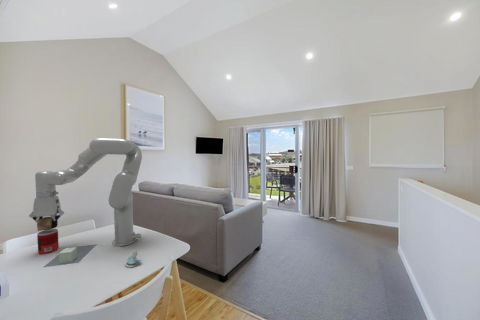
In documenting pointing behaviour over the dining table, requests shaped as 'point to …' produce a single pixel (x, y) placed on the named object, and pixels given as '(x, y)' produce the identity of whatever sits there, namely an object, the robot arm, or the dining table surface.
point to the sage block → (67, 255)
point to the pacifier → (132, 260)
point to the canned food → (47, 241)
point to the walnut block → (44, 223)
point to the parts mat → (81, 253)
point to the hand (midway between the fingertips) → (47, 227)
